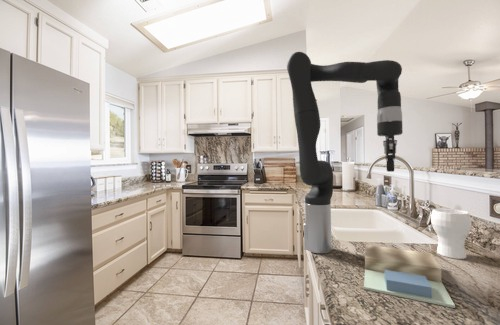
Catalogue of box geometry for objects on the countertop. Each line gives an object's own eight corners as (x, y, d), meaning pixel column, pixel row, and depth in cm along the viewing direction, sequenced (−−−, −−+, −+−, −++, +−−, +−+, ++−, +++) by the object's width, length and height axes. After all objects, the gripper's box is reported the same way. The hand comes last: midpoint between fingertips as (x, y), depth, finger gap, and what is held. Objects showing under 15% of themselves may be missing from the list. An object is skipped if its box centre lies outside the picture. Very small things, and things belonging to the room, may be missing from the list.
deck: (365, 270, 70) (364, 257, 70) (366, 256, 81) (365, 244, 81) (441, 284, 62) (441, 268, 62) (431, 266, 72) (431, 253, 72)
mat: (363, 289, 60) (363, 286, 60) (365, 271, 70) (365, 269, 70) (455, 308, 51) (455, 305, 51) (442, 284, 61) (441, 282, 61)
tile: (384, 269, 64) (384, 279, 64) (386, 279, 58) (386, 289, 58) (425, 276, 60) (425, 286, 60) (431, 287, 54) (431, 298, 54)
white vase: (432, 247, 88) (431, 207, 89) (470, 253, 82) (469, 210, 82) (431, 255, 80) (430, 211, 80) (474, 263, 74) (472, 215, 74)
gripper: (376, 125, 89) (377, 170, 89) (377, 119, 78) (378, 172, 77) (400, 123, 86) (401, 170, 86) (404, 117, 74) (405, 172, 74)
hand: (390, 171), depth 82 cm, fingers closed
